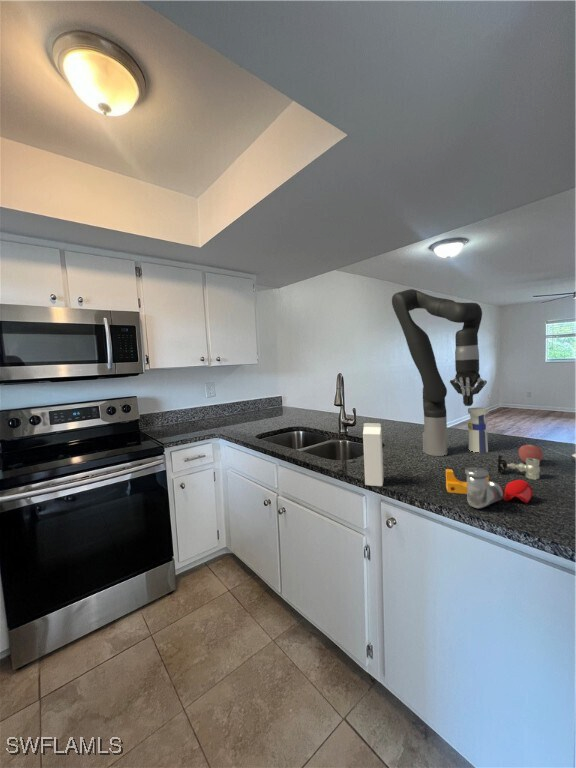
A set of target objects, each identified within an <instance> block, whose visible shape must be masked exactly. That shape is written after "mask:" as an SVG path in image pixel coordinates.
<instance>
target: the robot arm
mask: <svg viewBox="0 0 576 768" xmlns="http://www.w3.org/2000/svg"><path fill="white" fill-rule="evenodd" d="M391 306H392V309H393V311H394V313H395V315H396V318H397V320H398V322H399V324H400V327H401V329H402V332H403V334H404V338H405V340H406V344H407V348H408V350H409V354H410V355H411V358H412V361H413V363H414V365H415V366H416V368H417V370H418V372H419V375H420V378H421V382H422V386H423V387H422V407H423V426H424V428H423V429H424V431H422V453H425V454H426V455H429V456H432V457H433V456H434V457H444V455H445V456H447V455H448V425H447V420H448V419H447V408H446V407H447V406H446V397H447V395H448V389H447V386H446V385H445V382H444V381H443V379H442V377H441V374H440V372H439V369H438V366H437V361H436V357H435V354H434V349H433V346H432V343H431V341H430V338H429V335H428V334H427V333H426V331H424V330H423V329H422V328H421V327H420V326H419V325H418V324H417V323H416V322H415V321H414V319H413V318H412V316H411V314H410V312H411V311H414V310H415V309H416V310H417V309H422V310H423V309H424V310H425V311H426V312H427V313H428V314H429V315H430V316H435V317H438V318H442V319H446V320H447V321H450V322H453V323H458V324H462V323H463V325H462V328H461V329H460V330H457V331H456V332H455V349H454V350H455V351H454V360H455V361H454V363H455V373H456V374H455V377H454V378H453V379H450V381H449V383H450V385H451V386H452V387H453V388H454V390H455V391H456V393H457V394H459V395H462V403H463V405H464V406H465V407H471V406H472V405H473V404H474V396H475V395H479V393H480V392H481V391H482V390H483V389H484V387H485V386H486V384H487V383H488V382H487V380H485V379H482V378H481V375H480V373H479V372H480V350H479V338H478V337H479V336H478V335H479V334H478V333H479V330H480V326H481V321H482V319H483V310H482V307H481V306H480V304H479V303H476V302H459V301H454V300H452V299H449V298H441V297H437V296H432V295H429V294H427V293H424V292H421V291H419V290H416V289H412V288H410V289H404V290H402V291H399V292H396V293H394V294H393V295H392V297H391Z"/></svg>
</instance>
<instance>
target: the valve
mask: <svg viewBox="0 0 576 768" xmlns="http://www.w3.org/2000/svg"><path fill="white" fill-rule="evenodd" d="M497 468H498V469H497V472H498V473H499V474H502V473H503V471H505V470H506V469H508V468H510V469H513V470H519V472H521V473H523V472H525V477H526V478H527V479H529V480H539V479H540V472H541V467H540V462H539V460H538V459H534V458H527V459H526V463H525V464H524V462H519V463H518V464H516V463H513V462H512V463H508V462H507V461H506V460H505V459H504V457H503V455H498V457H497Z"/></svg>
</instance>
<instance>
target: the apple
mask: <svg viewBox="0 0 576 768" xmlns="http://www.w3.org/2000/svg"><path fill="white" fill-rule="evenodd" d="M518 456H519V458H520V460H521V461H522V462H523V463H525V464H526V459H527V458H534V459H538V460H539V463H540V462H541V461H542V460H543V457H544V452H543V450H542V449H541V448H540V447H538V446H537V445H533V444H524V445H521V446H520V447H519V449H518Z"/></svg>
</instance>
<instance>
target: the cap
mask: <svg viewBox="0 0 576 768" xmlns="http://www.w3.org/2000/svg"><path fill="white" fill-rule="evenodd" d="M533 494H534V491H533V489H532V487H531V485H530V483H528V482H527V481H525V480H523V479H515V480H512V481H511V482H507V484H506V486H505V488H504V496H503V500H504V501H505V502H508V501H510V500H512V499H513V498H514V497H515V498H517V499H520V501H522V502H523V503H525V504H528V503H529V501H530V500H531V499H532V497H533Z"/></svg>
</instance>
